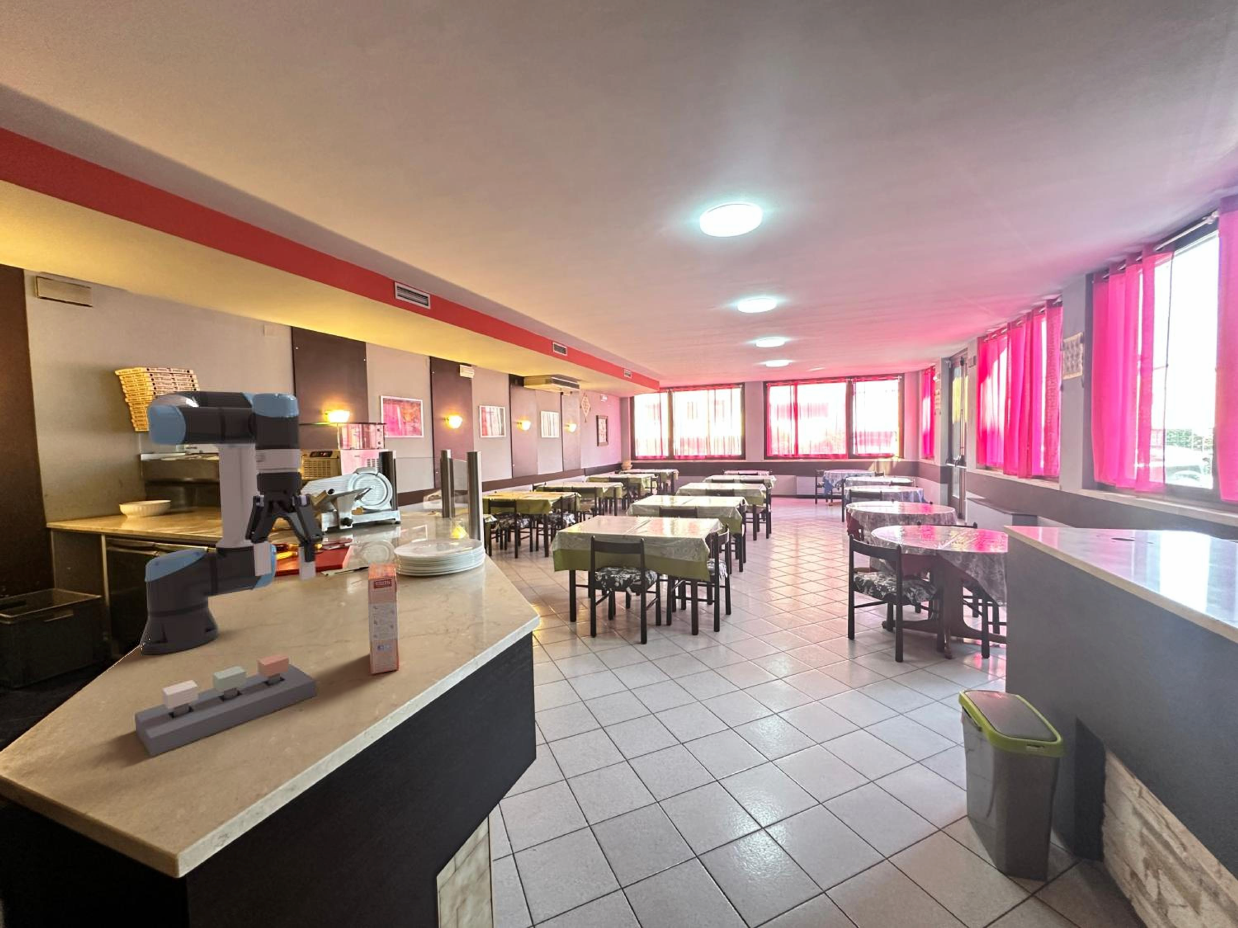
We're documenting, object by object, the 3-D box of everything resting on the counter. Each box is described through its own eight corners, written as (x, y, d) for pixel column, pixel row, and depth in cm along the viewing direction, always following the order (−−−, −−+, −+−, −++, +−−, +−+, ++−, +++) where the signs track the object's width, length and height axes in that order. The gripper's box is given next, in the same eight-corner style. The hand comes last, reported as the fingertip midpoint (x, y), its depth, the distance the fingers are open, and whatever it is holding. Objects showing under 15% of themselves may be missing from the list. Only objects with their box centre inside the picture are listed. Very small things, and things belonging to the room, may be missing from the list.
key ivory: (163, 718, 87) (162, 688, 87) (193, 708, 90) (191, 679, 90) (169, 725, 84) (167, 695, 84) (199, 715, 87) (197, 685, 87)
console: (135, 729, 87) (134, 713, 87) (291, 677, 106) (290, 663, 106) (151, 756, 79) (150, 738, 79) (316, 694, 98) (315, 679, 98)
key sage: (214, 701, 92) (212, 673, 92) (240, 692, 95) (238, 665, 95) (220, 708, 90) (219, 679, 90) (247, 698, 93) (245, 670, 93)
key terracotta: (258, 686, 98) (257, 660, 98) (282, 678, 101) (280, 653, 101) (266, 692, 95) (264, 665, 95) (289, 684, 98) (288, 657, 98)
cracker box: (401, 670, 108) (397, 574, 108) (370, 676, 106) (365, 578, 105) (399, 647, 121) (395, 562, 120) (371, 652, 118) (367, 565, 118)
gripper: (220, 473, 101) (226, 576, 102) (302, 470, 91) (309, 585, 92) (259, 471, 108) (264, 568, 109) (339, 469, 98) (345, 575, 99)
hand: (285, 576), depth 100 cm, fingers open, 13 cm apart
